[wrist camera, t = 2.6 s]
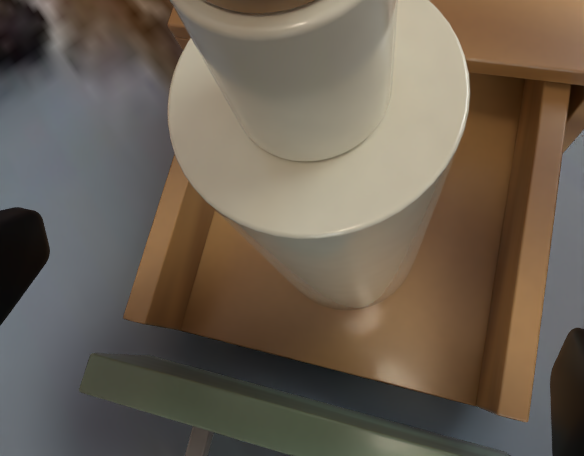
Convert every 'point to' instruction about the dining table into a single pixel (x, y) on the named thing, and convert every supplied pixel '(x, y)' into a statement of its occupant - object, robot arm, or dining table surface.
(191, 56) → the bottle
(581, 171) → the dining table surface
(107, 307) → the dining table surface
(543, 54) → the wooden box
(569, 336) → the robot arm
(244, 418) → the drawer
